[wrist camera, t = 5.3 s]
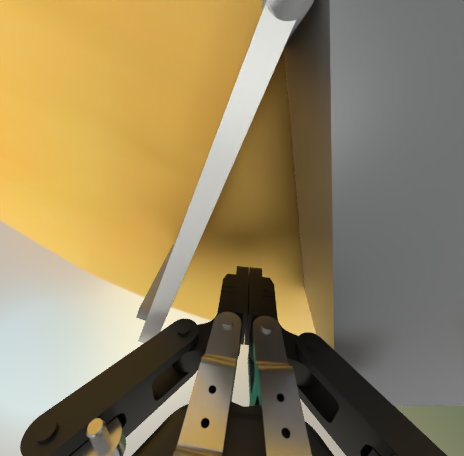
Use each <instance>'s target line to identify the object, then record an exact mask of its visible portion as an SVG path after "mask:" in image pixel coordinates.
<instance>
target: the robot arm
mask: <svg viewBox="0 0 464 456" xmlns="http://www.w3.org/2000/svg"><path fill="white" fill-rule="evenodd" d="M244 336H245V345H249V354H248V375H249V394H250V404H249V407H243V406H240V405H238V404H235V403H233V402H232V394H233V387H234V380H235V372H236V366H237V359H238V356H239V353H240V345H241V344H243V343H244ZM197 370H198V373H197V376H196V380H195V383H194V387H193V390H192V394H191V398H190V401H189V404H188V405H185V406H183V407H181V408H179V409H178V410H176V411H175V412H174V413H173V414H171V415H170V416H169V417H168V418H167V419H166V420H165V421H164V422H163V423H162V425H161V426H160V427H159V428H158V429H157V430H156V431H155V432H154V433H153V434H152V435H151V436H150V437H149V438H148V439H147V440H146V441H145V442H144V443H143V444H142V445H141V446H140V448H139V449H138V450H137V451H136V452H135V453H134V454H133V455H132V456H334V455H333V454H332V452H331V451H330V450H329V448H328V447H327V446H326V444H325V443H324V441H323V440H322V439H321V437H320V436H319V435H318V433H317V432H316V431H315V430H314V429H313V428H312V427H311V426H310V425H309V424H308V423H307V422H305V421H304V416H303V412H302V407H301V402H300V399H301V400H302V401H303V402H304V404H305V405H306V406H307V407H308V408H309V410H310V411H311V412H312V414H313V415H314V416H315V417H316V418H317V420H318V421H319V422H320V424H321V425H322V426H323V427H324V429H325V430H326V431H327V432H328V434H329V435H330V436H331V437H332V439H333V440H334V441H335V442H336V444H337V445H338V446H339V447H340V448H341V450H342V451H343V452H344V453H345V455H346V456H447V455H446V454H445V453H444V452H443V451H442V450H440V449H439V448H438V447H437V446H436V445H435V444H434V443H433V442H432V441H431V440H430V439H429V438H428V437H427V436H426V435H424V434H423V433H422V432H421V431H420V430H419V429H418V428H417V427H416V426H415V425H414V424H413V423H412V422H411V421H409V420H408V419H407V418H406V417H405V416H404V415H403V414H402V413H401V412H400V411H399V410H398V409H397V408H396V407H395V406H393V405H392V404H391V403H390V402H389V401H388V400H387V399H386V398H385V397H384V396H383V395H382V394H381V393H380V392H379V391H377V390H376V389H375V388H374V387H373V386H372V385H371V384H370V383H369V382H368V381H367V380H366V379H365V378H364V377H362V376H361V375H360V374H359V373H358V372H357V371H356V370H355V369H354V368H353V367H352V366H351V365H350V364H349V363H348V362H346V361H345V360H344V359H343V358H342V357H341V356H340V355H339V354H338V353H337V352H336V351H335V350H334V349H333V348H331V347H330V346H329V345H328V344H327V343H326V342H325V341H324V340H323V339H322V338H321V337H319V336H318V335H316V334H313V333H303V334H301V335H300V336H297V335H294V334H292V333H290V332H288V331H286V330H285V329H283V328H282V327H281V325H280V324H279V322H278V319H277V310H276V300H275V290H274V284H273V282H272V281H271V279H270V278H265V277H262V269H261V268H251V267H250V269H249V267H240V266H237V272H236V275H234V274H227V275H226V276H225V278H224V279H223V284H222V290H221V296H220V302H219V308H218V313H217V315H216V317H215V318H214V319H213V320H212V321H210V322H208V323H205V324H200V325H197V324H196V323H195V322H194V321H192V320H190V319H180V320H177V321H176V322H174V323H173V324H171V325H170V326H168V327H167V328H165V329H164V330H163V331H161V332H160V333H158V334H157V335H155V336H154V337H152V338H151V339H150V340H148V341H147V342H145V343H144V344H142V345H141V346H140V347H138V348H137V349H135V350H134V351H132V352H131V353H130V354H128V355H127V356H125V357H124V358H122V359H121V360H119V361H118V362H117V363H115V364H114V365H112V366H111V367H109V368H108V369H107V370H105V371H104V372H102V373H101V374H100V375H98V376H96V377H95V378H94V379H92V380H91V381H89V382H88V383H87V384H85V385H84V386H82V387H81V388H79V389H78V390H76V391H75V392H74V393H72V394H71V395H70V396H68V397H66V398H65V399H63V400H62V401H61V402H59V403H58V404H56V405H55V406H53V407H52V408H51V409H49V410H48V411H46V412H45V413H44V414H42V415H41V416H39V417H38V418H37V419H36V420H35V421H34V422H33V423H32V424H31V425H30V426H29V427H28V429H27V430H26V432H25V434H24V436H23V438H22V441H21V447H20V449H21V453H22V455H23V456H123V454H124V451H125V448H126V439H125V438H126V437H127V436H128V435H129V434H130V433H131V432H132V431H133V430H135V429H136V428H137V427H138V426H139V425H140V424H141V423H142V422H143V421H144V420H145V419H147V417H149V416H150V415H151V414H152V413H153V412H154V411H155V410H156V409H157V408H158V407H159V406H161V405H162V404H163V403H164V402H165V401H166V400H167V399H168V398H169V397H170V396H171V395H172V394H174V393H175V392H176V391H177V390H178V389H179V388H180V387H181V386H182V385H183V384H184V383H185V382H186V381H188V380H189V378H191V377H192V376H193V375H194V374H195V373H196V371H197Z"/></svg>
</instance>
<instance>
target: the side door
mask: <svg viewBox="0 0 464 456" xmlns="http://www.w3.org/2000/svg"><path fill="white" fill-rule="evenodd" d="M313 2H314V0H263V6H262V14H261V17H260V20H259V22H258V25H257V28H256V30H255V33H254V36H253V38H252V41H251V44H250V46H249V49H248V52H247V54H246V57H245V59H244V62H243V65H242V67H241V70H240V73H239V75H238V78H237V81H236V83H235V86H234V89H233V91H232V94H231V97H230V99H229V102H228V105H227V107H226V110H225V113H224V115H223V118H222V120H221V123H220V126H219V128H218V131H217V134H216V136H215V139H214V142H213V144H212V147H211V150H210V152H209V155H208V158H207V160H206V163H205V166H204V168H203V171H202V174H201V176H200V179H199V182H198V184H197V187H196V189H195V192H194V195H193V197H192V200H191V203H190V205H189V208H188V211H187V213H186V216H185V219H184V221H183V224H182V227H181V229H180V232H179V235H178V237H177V240H176V243H175V245H174V244H173V246H172V248H171V250H170V252H169V254H168V255H167V257H166V259H165V261H164V263H163V265H162V267H161V269H160V270H159V272H158V274H157V276H156V278H155V280H154V282H153V284H152V286H151V287H150V289H149V291H148V293H147V295H146V297H145V299H144V301H143V303H142V304H141V307H140V308H139V311H138V314H137V318H140V319H143V320H145V321H146V322H145V325H144V327H143V330H142V333H141V336H140V338H139V341H140V342H142V343H145V342H147V341H148V340H150V339H151V338H152V337H154V336H155V335H157V334H158V333H160V330H161V328H162V326H163V323H164V321H165V319H166V317H167V314H168V312H169V310H170V308H171V305H172V303H173V301H174V298H175V296H176V294H177V292H178V289H179V287H180V285H181V282H182V280H183V278H184V276H185V273H186V271H187V269H188V266H189V264H190V262H191V260H192V257H193V255H194V253H195V250H196V248H197V246H198V243H199V241H200V239H201V237H202V234H203V232H204V230H205V227H206V225H207V223H208V221H209V218H210V216H211V214H212V211H213V209H214V207H215V205H216V202H217V200H218V198H219V195H220V193H221V191H222V189H223V186H224V184H225V182H226V179H227V177H228V175H229V172H230V170H231V168H232V166H233V163H234V161H235V159H236V156H237V154H238V152H239V150H240V147H241V145H242V143H243V140H244V138H245V136H246V134H247V131H248V129H249V127H250V124H251V122H252V120H253V118H254V115H255V113H256V111H257V108H258V106H259V104H260V101H261V99H262V97H263V95H264V92H265V90H266V88H267V85H268V83H269V81H270V79H271V76H272V74H273V72H274V69H275V67H276V65H277V63H278V60H279V58H280V56H281V53H282V51H283V49H284V47H285V45H286V43H287V42H288V40H289V39H290V37H291V36H292V34H293V33H294V31H295V30H296V28H297V27H298V25H299V24H300V22H301V21H302V19H303V18H304V16H305V15H306V13H307V12H308V10H309V9H310V7H311V6H312V4H313Z"/></svg>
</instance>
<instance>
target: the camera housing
mask: <svg viewBox="0 0 464 456" xmlns="http://www.w3.org/2000/svg"><path fill="white" fill-rule="evenodd" d="M284 55H285V67H286V78H287V90H288V102H289V113H290V125H291V137H292V148H293V160H294V172H295V183H296V195H297V207H298V218H299V230H300V242H301V253H302V265H303V277H304V288H305V292H306V296H307V300H308V304H309V307H310V311H311V315H312V319H313V323H314V327H315V331H316V335H318V336H319V337H321V338H322V339H323V340H324V341H325V342H326V343H327V344H328V345H329V346H330V347H331V348H333V349H334V350H335V351H336V352H337V353H338V354H339V355H340V356H341V357H342V358H343V359H344V360H345V361H346V362H348V363H349V364H350V365H351V366H352V367H353V368H354V369H355V370H356V371H357V372H358V373H359V374H360V375H361V376H362V377H364V378H365V379H366V380H367V381H368V382H369V383H370V384H371V385H372V386H373V387H374V388H375V389H376V390H377V391H379V392H380V393H381V394H382V395H383V396H384V397H385V398H386V399H387V400H388V401H389V402H390V403H391V404H392V405H393V406H438V405H439V406H444V405H464V0H314V2H313V4H312V6H311V7H310V9H309V10H308V12H307V13H306V15H305V16H304V18H303V19H302V21H301V22H300V24H299V25H298V27H297V28H296V30H295V31H294V33H293V34H292V36H291V37H290V39H289V40H288V42H287V43H286V45H285V47H284Z"/></svg>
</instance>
